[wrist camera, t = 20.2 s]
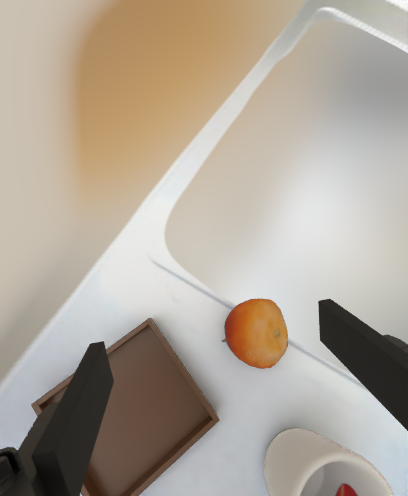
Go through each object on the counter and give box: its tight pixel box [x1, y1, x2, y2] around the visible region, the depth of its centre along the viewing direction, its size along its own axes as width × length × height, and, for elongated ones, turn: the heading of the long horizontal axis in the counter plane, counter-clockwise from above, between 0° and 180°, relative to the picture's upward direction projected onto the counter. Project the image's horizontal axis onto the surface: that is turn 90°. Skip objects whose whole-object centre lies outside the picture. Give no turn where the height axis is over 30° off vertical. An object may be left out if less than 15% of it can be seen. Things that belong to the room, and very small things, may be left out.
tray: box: [32, 318, 220, 496], centre depth 31 cm, size 15×14×2 cm
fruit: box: [222, 299, 288, 369], centre depth 33 cm, size 8×8×8 cm
